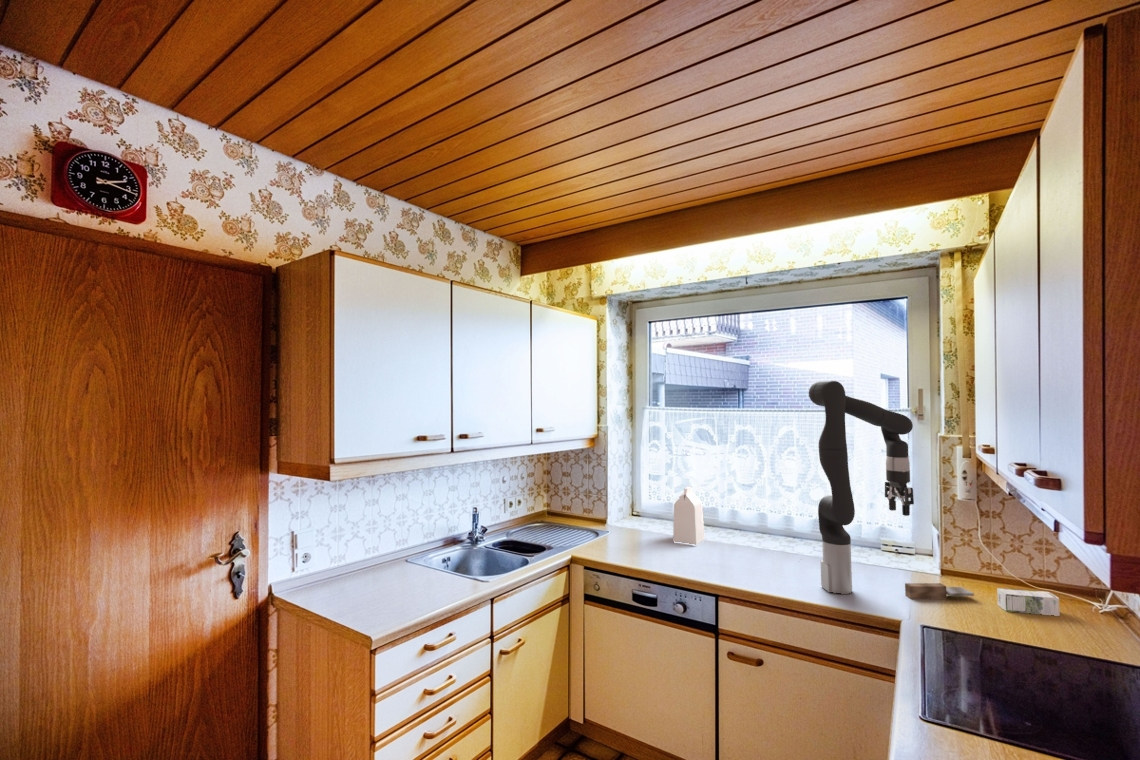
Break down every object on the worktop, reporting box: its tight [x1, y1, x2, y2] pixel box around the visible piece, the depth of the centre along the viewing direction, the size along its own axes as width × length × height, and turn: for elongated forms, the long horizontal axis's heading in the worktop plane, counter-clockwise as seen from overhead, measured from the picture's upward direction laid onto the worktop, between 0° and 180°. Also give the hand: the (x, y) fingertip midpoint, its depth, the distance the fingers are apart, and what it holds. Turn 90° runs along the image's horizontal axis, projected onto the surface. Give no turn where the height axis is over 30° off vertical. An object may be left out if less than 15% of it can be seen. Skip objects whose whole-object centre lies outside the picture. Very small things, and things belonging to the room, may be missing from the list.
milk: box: [672, 486, 706, 545], centre depth 256 cm, size 12×12×26 cm
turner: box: [904, 582, 975, 600], centre depth 183 cm, size 20×6×4 cm, turn 87°
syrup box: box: [996, 587, 1061, 617], centre depth 171 cm, size 6×6×14 cm
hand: (899, 512), depth 197 cm, fingers open, 8 cm apart
